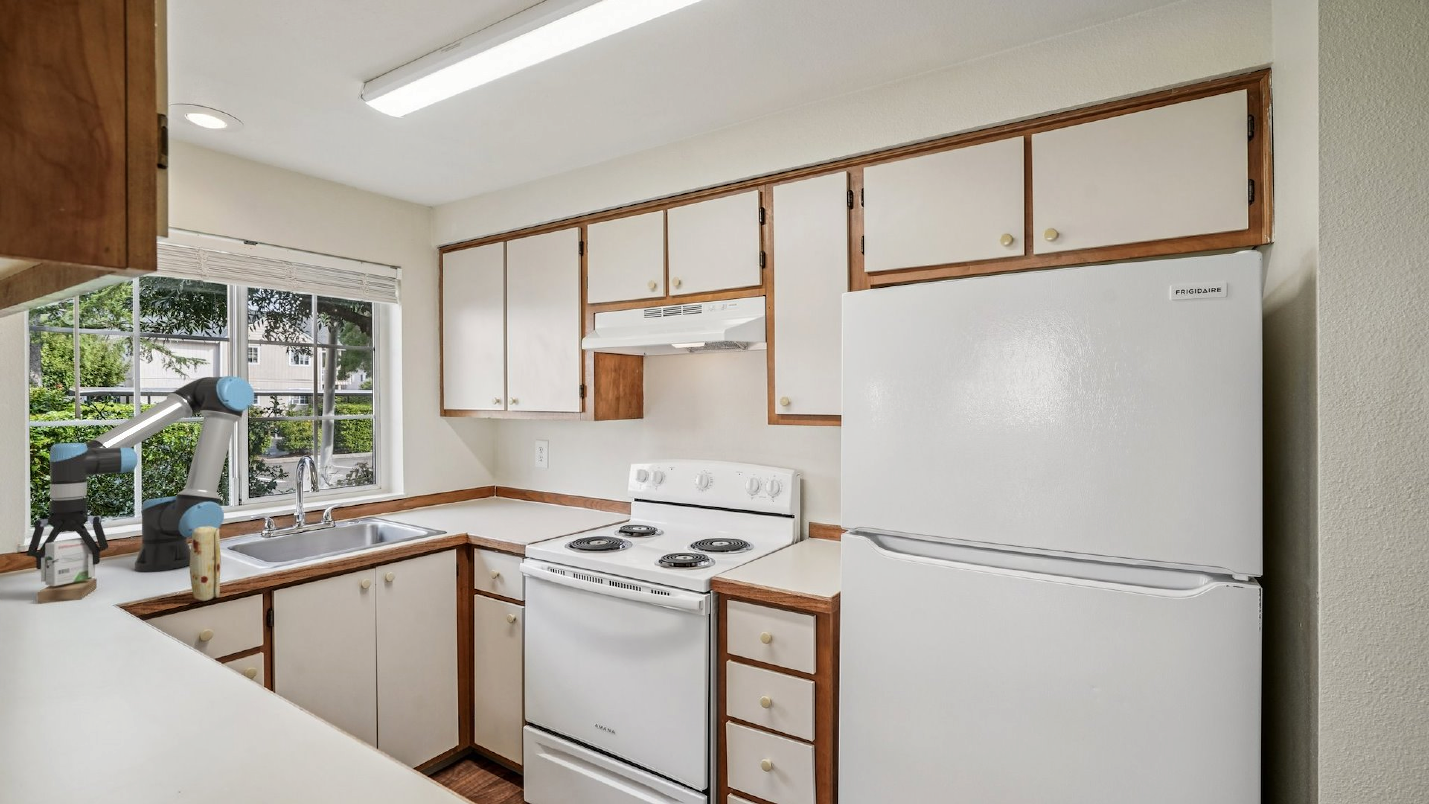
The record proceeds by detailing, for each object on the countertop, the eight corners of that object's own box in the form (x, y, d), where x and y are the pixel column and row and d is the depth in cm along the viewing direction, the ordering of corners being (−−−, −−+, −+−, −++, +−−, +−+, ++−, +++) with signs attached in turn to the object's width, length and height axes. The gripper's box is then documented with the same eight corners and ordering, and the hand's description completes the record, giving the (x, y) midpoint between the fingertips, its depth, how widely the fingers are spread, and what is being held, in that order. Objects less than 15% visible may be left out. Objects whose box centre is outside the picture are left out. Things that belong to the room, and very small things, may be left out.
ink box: (82, 577, 195) (82, 536, 195) (92, 579, 194) (92, 537, 194) (43, 585, 187) (43, 542, 187) (54, 586, 185) (54, 543, 186)
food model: (195, 596, 189) (195, 524, 189) (224, 593, 192) (224, 522, 192) (185, 605, 180) (185, 530, 180) (216, 602, 183) (216, 528, 183)
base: (96, 589, 198) (96, 577, 198) (81, 599, 187) (81, 587, 187) (55, 593, 194) (55, 581, 194) (37, 603, 183) (37, 591, 183)
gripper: (123, 494, 199) (123, 570, 199) (21, 499, 189) (21, 580, 189) (114, 497, 192) (114, 576, 192) (9, 502, 182) (9, 586, 182)
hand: (68, 578), depth 190 cm, fingers closed on ink box, 9 cm apart
